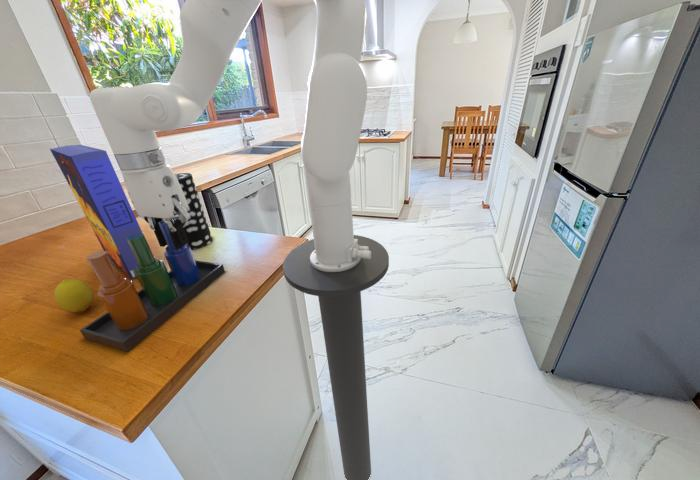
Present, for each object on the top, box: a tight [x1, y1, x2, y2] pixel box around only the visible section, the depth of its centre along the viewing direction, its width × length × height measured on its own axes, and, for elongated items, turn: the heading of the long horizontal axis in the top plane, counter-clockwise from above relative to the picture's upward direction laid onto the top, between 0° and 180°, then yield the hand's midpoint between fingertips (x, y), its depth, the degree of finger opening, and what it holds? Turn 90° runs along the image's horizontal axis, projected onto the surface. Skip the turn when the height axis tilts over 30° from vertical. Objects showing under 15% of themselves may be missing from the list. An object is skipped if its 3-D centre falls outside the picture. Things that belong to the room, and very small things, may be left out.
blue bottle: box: [158, 219, 201, 286], centre depth 64 cm, size 5×5×15 cm
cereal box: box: [49, 144, 143, 280], centre depth 72 cm, size 22×6×30 cm, turn 51°
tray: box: [79, 259, 226, 353], centre depth 62 cm, size 11×25×2 cm, turn 161°
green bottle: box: [127, 232, 177, 306], centre depth 59 cm, size 5×5×15 cm
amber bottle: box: [86, 250, 149, 331], centre depth 53 cm, size 5×5×15 cm
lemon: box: [53, 278, 95, 313], centre depth 59 cm, size 6×6×8 cm
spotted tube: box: [173, 172, 213, 250], centre depth 82 cm, size 8×8×20 cm
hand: (174, 244), depth 63 cm, fingers open, 3 cm apart
